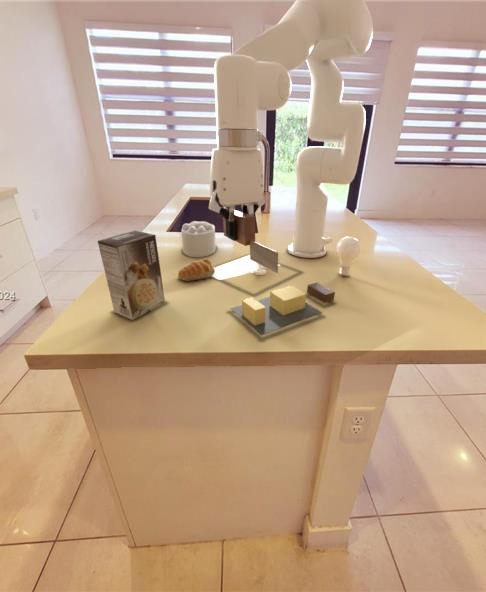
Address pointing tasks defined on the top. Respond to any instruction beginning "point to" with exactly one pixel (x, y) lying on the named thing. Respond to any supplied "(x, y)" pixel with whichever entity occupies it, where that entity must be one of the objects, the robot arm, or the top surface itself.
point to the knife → (253, 241)
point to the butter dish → (277, 317)
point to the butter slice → (253, 311)
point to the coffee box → (132, 272)
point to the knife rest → (320, 292)
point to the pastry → (197, 270)
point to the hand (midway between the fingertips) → (238, 237)
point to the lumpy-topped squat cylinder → (198, 239)
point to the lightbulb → (347, 253)
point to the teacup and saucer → (260, 270)
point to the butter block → (287, 300)
